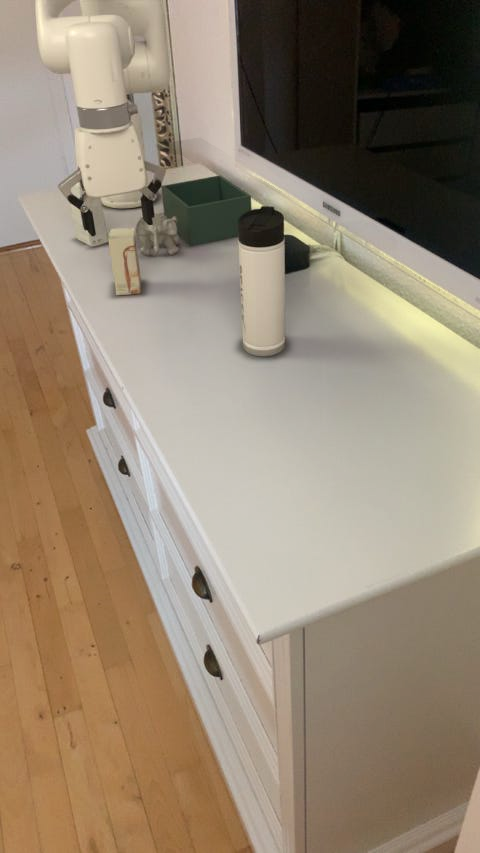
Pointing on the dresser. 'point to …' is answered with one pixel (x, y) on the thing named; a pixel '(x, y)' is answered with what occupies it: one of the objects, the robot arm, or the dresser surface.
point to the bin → (205, 208)
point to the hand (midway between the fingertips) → (120, 228)
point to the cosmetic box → (98, 218)
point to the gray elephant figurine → (158, 234)
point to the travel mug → (262, 280)
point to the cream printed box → (124, 261)
